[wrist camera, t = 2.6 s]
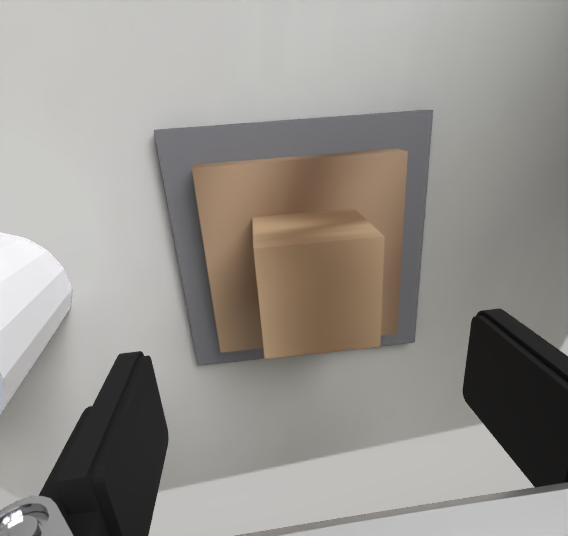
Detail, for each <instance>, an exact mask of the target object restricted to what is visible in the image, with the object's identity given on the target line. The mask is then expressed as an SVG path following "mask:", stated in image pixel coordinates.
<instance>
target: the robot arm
mask: <svg viewBox="0 0 568 536" xmlns="http://www.w3.org/2000/svg"><path fill="white" fill-rule="evenodd" d="M463 396H464V399H465V401H466V403H467V404H468V405H469V406H470V408H471V409H472V410H473V411H474V413H475V414H476V415H477V416H478V418H479V419H480V420H481V421H482V423H483V424H484V425H485V426H486V427H487V429H488V430H489V431H490V432H491V434H492V435H493V436H494V437H495V439H496V440H497V441H498V442H499V444H500V445H501V446H502V447H503V448H504V450H505V451H506V452H507V453H508V455H509V456H510V457H511V458H512V460H513V461H514V462H515V463H516V465H517V466H518V467H519V468H520V469H521V471H522V472H523V473H524V474H525V476H526V477H527V478H528V479H529V480H530V482H531V483H532V484H533V486H535V488H529V489H522V490H516V491H509V492H502V493H496V494H489V495H483V496H476V497H470V498H463V499H457V500H451V501H445V502H438V503H432V504H425V505H419V506H413V507H407V508H401V509H395V510H388V511H383V512H376V513H370V514H364V515H357V516H351V517H345V518H338V519H333V520H326V521H320V522H315V523H308V524H303V525H296V526H290V527H284V528H278V529H272V530H266V531H260V532H255V533H248V534H242V535H236V536H568V356H566V355H565V354H564V353H562V352H561V351H560V350H558V349H557V348H555V347H554V346H553V345H551V344H550V343H548V342H547V341H546V340H544V339H543V338H541V337H540V336H539V335H537V334H536V333H534V332H533V331H532V330H530V329H529V328H527V327H526V326H525V325H523V324H522V323H520V322H519V321H518V320H516V319H515V318H513V317H512V316H511V315H509V314H508V313H506V312H505V311H504V310H502V309H491V310H483V311H479V312H478V313H477V315H476V316H475V317H473V319H472V322H471V330H470V337H469V345H468V353H467V360H466V368H465V376H464V384H463ZM167 446H168V429H167V425H166V420H165V416H164V412H163V407H162V403H161V399H160V395H159V390H158V386H157V382H156V378H155V373H154V369H153V365H152V361H151V358H150V356H144V354H143V353H142V352H141V351H139V352H131V353H122V354H119V355H118V357H117V359H116V361H115V363H114V365H113V367H112V369H111V371H110V372H109V374H108V376H107V378H106V380H105V382H104V384H103V386H102V388H101V390H100V392H99V394H98V396H97V398H96V400H95V402H94V404H93V406H91V407H88V408H86V409H85V410H84V412H83V413H82V415H81V417H80V419H79V421H78V422H77V424H76V426H75V428H74V430H73V432H72V434H71V436H70V438H69V439H68V441H67V443H66V445H65V447H64V449H63V451H62V453H61V455H60V456H59V458H58V460H57V462H56V464H55V466H54V468H53V470H52V472H51V473H50V475H49V477H48V479H47V481H46V483H45V485H44V487H43V488H42V490H41V492H40V494H39V496H34V497H28V498H25V499H22V500H19V501H16V502H14V503H13V504H10V505H9V506H7V507H5V508H3V509H2V510H0V536H148V534H149V530H150V525H151V520H152V515H153V511H154V506H155V502H156V497H157V493H158V488H159V483H160V479H161V474H162V469H163V465H164V460H165V455H166V451H167Z"/></svg>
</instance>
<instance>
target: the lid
mask: <svg viewBox="0 0 568 536" xmlns="http://www.w3.org/2000/svg"><path fill="white" fill-rule="evenodd" d="M407 159H408V151H405V150H401V149H385V150H372V151H360V152H347V153H334V154H322V155H309V156H296V157H283V158H271V159H258V160H245V161H232V162H220V163H207V164H195V165H194V166H193V167H192V174H193V180H194V186H195V193H196V199H197V205H198V212H199V218H200V225H201V231H202V237H203V244H204V250H205V257H206V263H207V269H208V276H209V282H210V288H211V295H212V301H213V308H214V314H215V320H216V327H217V333H218V339H219V346H220V352H231V351H240V350H250V349H259V348H264V356H265V359H269V358H278V357H287V356H297V355H306V354H316V353H325V352H334V351H344V350H353V349H363V348H372V347H380V342H381V336H383V335H393V334H397V329H398V312H399V295H400V278H401V261H402V244H403V227H404V210H405V193H406V176H407Z"/></svg>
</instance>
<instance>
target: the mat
mask: <svg viewBox="0 0 568 536" xmlns="http://www.w3.org/2000/svg"><path fill="white" fill-rule="evenodd" d="M432 118H433V110H419V111H406V112H392V113H379V114H365V115H351V116H338V117H324V118H310V119H297V120H283V121H270V122H256V123H242V124H229V125H215V126H201V127H188V128H174V129H161V130H154V134H155V140H156V145H157V150H158V156H159V161H160V166H161V172H162V177H163V182H164V188H165V193H166V198H167V204H168V209H169V214H170V220H171V225H172V230H173V236H174V241H175V246H176V252H177V257H178V262H179V268H180V273H181V278H182V284H183V289H184V294H185V300H186V305H187V310H188V316H189V321H190V326H191V332H192V337H193V342H194V348H195V353H196V358H197V364H198V365H208V364H217V363H226V362H236V361H245V360H255V359H264V358H265V356H264V348H259V349H250V350H240V351H231V352H220V346H219V339H218V333H217V327H216V320H215V314H214V308H213V301H212V295H211V288H210V282H209V276H208V269H207V263H206V257H205V250H204V244H203V237H202V231H201V225H200V218H199V212H198V205H197V199H196V193H195V186H194V180H193V174H192V167H193V166H194V165H195V164H207V163H220V162H232V161H245V160H258V159H271V158H283V157H296V156H309V155H322V154H334V153H347V152H360V151H372V150H385V149H401V150H405V151H408V159H407V176H406V193H405V210H404V227H403V244H402V261H401V278H400V295H399V312H398V329H397V334H393V335H383V336H381V342H380V346H386V345H396V344H405V343H414V342H415V329H416V317H417V305H418V292H419V280H420V267H421V255H422V242H423V230H424V218H425V205H426V193H427V180H428V168H429V155H430V143H431V130H432Z"/></svg>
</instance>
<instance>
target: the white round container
mask: <svg viewBox="0 0 568 536" xmlns="http://www.w3.org/2000/svg"><path fill="white" fill-rule="evenodd" d="M71 297H72V287H71V285H70V282H69V280H68V277H67V274H66V272H65V269H64V268H63V267H62V266H61V265H60V263H59V262H58V261H57V260H56V259H55V258H54V257H53V256H52V255H51V253H50V252H49V251H48V250H46V249H44V248H42V247H41V246H39V245H37V244H35V243H34V242H32V241H30V240H28V239H27V238H24V237H20V236H15V235H10V234H5V233H0V415H1V413H2V412H3V410H4V409H5V407H6V406H7V404H8V403H9V401H10V399H11V398H12V396H13V395H14V393H15V392H16V390H17V389H18V387H19V386H20V384H21V383H22V381H23V380H24V378H25V377H26V375H27V374H28V372H29V371H30V369H31V368H32V366H33V365H34V363H35V362H36V360H37V359H38V357H39V356H40V354H41V352H42V351H43V349H44V348H45V346H46V345H47V343H48V342H49V340H50V339H51V337H52V336H53V334H54V333H55V331H56V330H57V328H58V327H59V325H60V324H61V322H62V321H63V319H64V317H65V316H66V314H67V313H68V311H69V310H70V308H71Z"/></svg>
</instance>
